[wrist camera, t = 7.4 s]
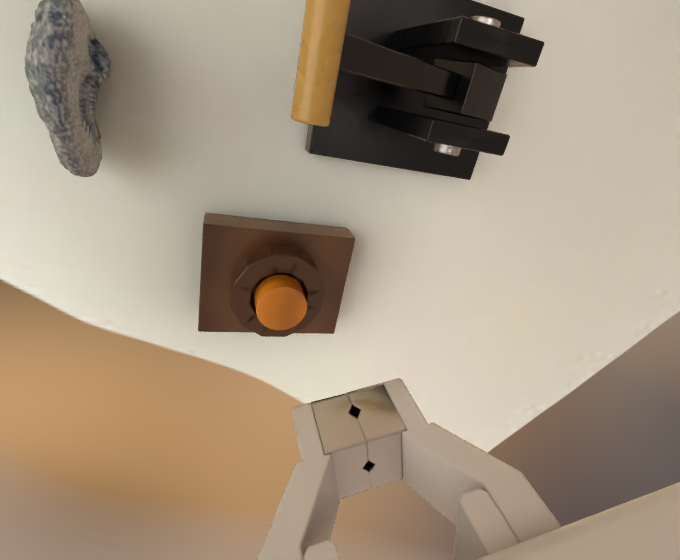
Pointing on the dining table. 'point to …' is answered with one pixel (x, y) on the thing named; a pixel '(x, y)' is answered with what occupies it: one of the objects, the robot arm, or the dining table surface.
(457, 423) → the dining table surface
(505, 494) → the robot arm
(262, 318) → the button
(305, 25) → the switch lever
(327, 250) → the button block
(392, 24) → the switch bracket
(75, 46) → the grey rock
